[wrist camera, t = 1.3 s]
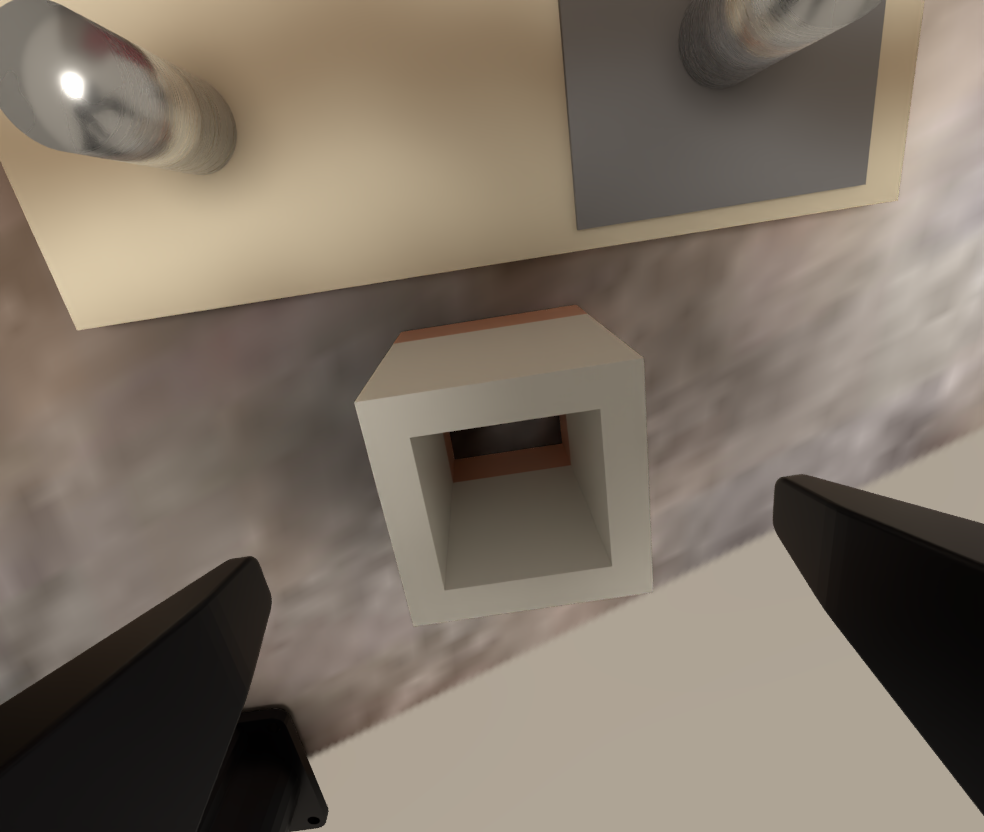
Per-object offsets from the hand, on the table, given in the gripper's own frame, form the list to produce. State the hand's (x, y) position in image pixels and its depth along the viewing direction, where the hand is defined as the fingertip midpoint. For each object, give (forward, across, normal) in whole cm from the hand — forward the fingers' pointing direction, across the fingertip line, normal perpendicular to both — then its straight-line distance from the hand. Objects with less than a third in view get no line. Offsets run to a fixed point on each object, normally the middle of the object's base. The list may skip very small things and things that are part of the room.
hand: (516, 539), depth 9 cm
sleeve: (+7, 0, 0) cm, 7 cm away
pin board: (+7, 0, -8) cm, 11 cm away
